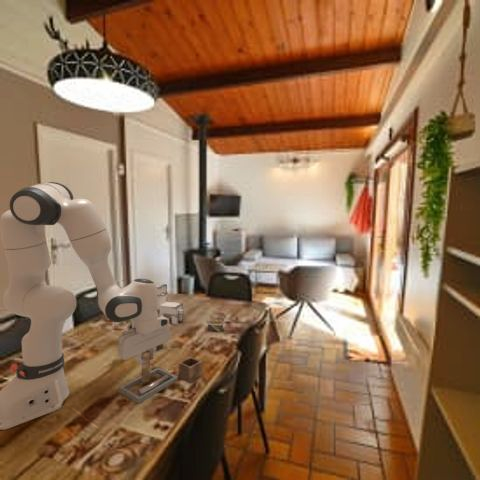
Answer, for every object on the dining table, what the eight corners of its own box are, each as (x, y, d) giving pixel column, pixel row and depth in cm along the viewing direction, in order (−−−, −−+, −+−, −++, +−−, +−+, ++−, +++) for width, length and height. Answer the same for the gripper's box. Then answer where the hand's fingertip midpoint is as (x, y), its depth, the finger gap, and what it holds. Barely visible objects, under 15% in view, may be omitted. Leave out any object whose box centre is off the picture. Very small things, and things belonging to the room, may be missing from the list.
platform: (230, 337, 157) (230, 325, 156) (195, 335, 158) (195, 323, 158) (233, 328, 168) (233, 316, 168) (200, 326, 170) (200, 314, 170)
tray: (139, 405, 102) (139, 399, 102) (119, 393, 109) (119, 387, 108) (178, 382, 116) (177, 376, 116) (158, 372, 122) (158, 367, 122)
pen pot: (190, 385, 114) (190, 368, 113) (178, 379, 118) (178, 362, 117) (202, 377, 119) (202, 361, 118) (190, 372, 123) (190, 356, 122)
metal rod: (142, 398, 105) (142, 390, 105) (138, 395, 106) (137, 388, 106) (170, 382, 115) (169, 375, 114) (165, 380, 116) (165, 373, 116)
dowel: (145, 384, 111) (144, 354, 110) (139, 381, 113) (139, 352, 111) (152, 380, 113) (151, 351, 112) (146, 377, 115) (146, 349, 114)
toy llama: (180, 325, 170) (179, 289, 168) (152, 321, 175) (151, 286, 173) (186, 321, 177) (186, 286, 175) (159, 317, 182) (159, 283, 180)
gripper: (124, 335, 100) (125, 376, 102) (172, 318, 117) (173, 353, 119) (113, 331, 104) (114, 370, 106) (161, 314, 121) (162, 348, 122)
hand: (145, 361), depth 112 cm, fingers closed on dowel, 3 cm apart
